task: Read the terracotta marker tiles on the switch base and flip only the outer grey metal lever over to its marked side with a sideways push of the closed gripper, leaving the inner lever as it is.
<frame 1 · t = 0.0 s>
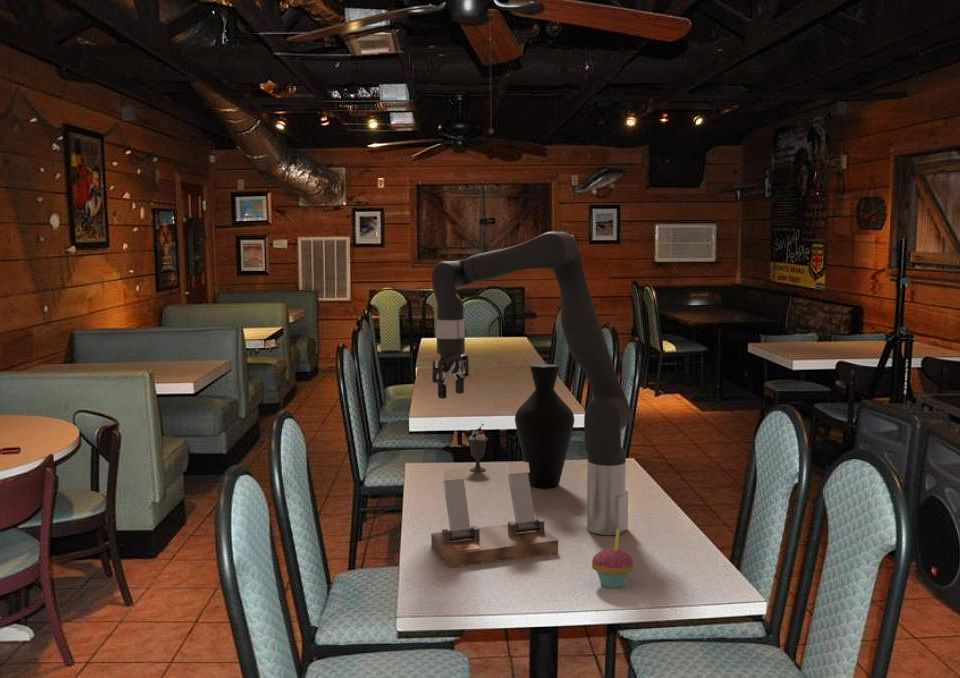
hand: (451, 395, 224), 29 cm above the table, tool pointing down, fingers open, 8 cm apart
inner lever: (521, 497, 196), point 11 cm above the table, hinge at 25.0°
outer lever: (456, 504, 190), point 11 cm above the table, hinge at 25.0°
switch base: (494, 549, 191), on the table
vase: (544, 485, 242), on the table
cupcake: (612, 585, 172), on the table
sundae: (478, 470, 258), on the table
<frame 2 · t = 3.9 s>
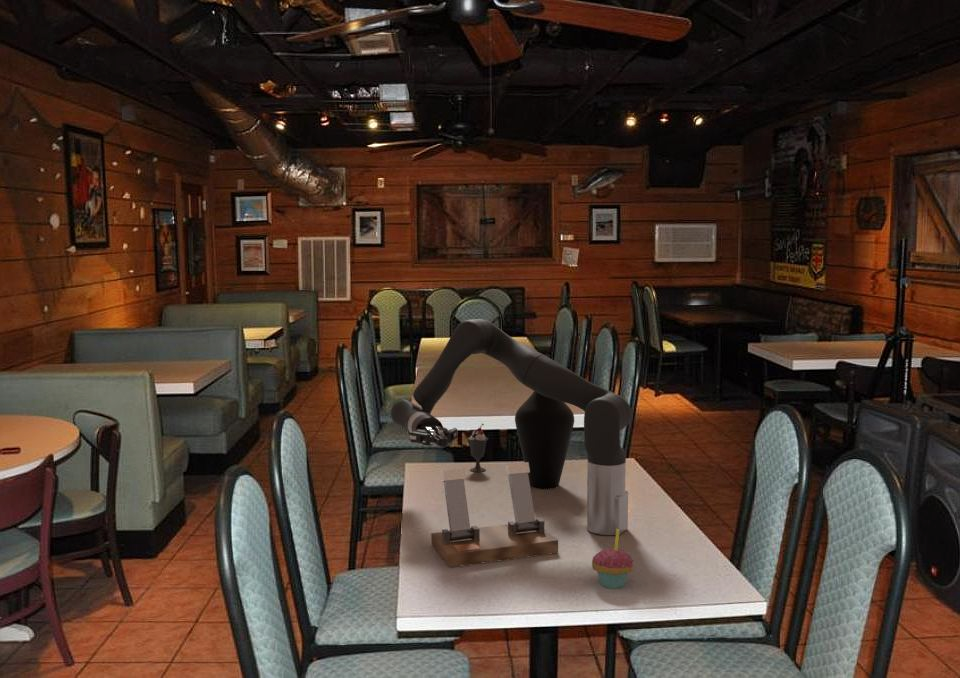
hand: (443, 442, 201), 22 cm above the table, tool horizontal, fingers closed
nothing on the table moved.
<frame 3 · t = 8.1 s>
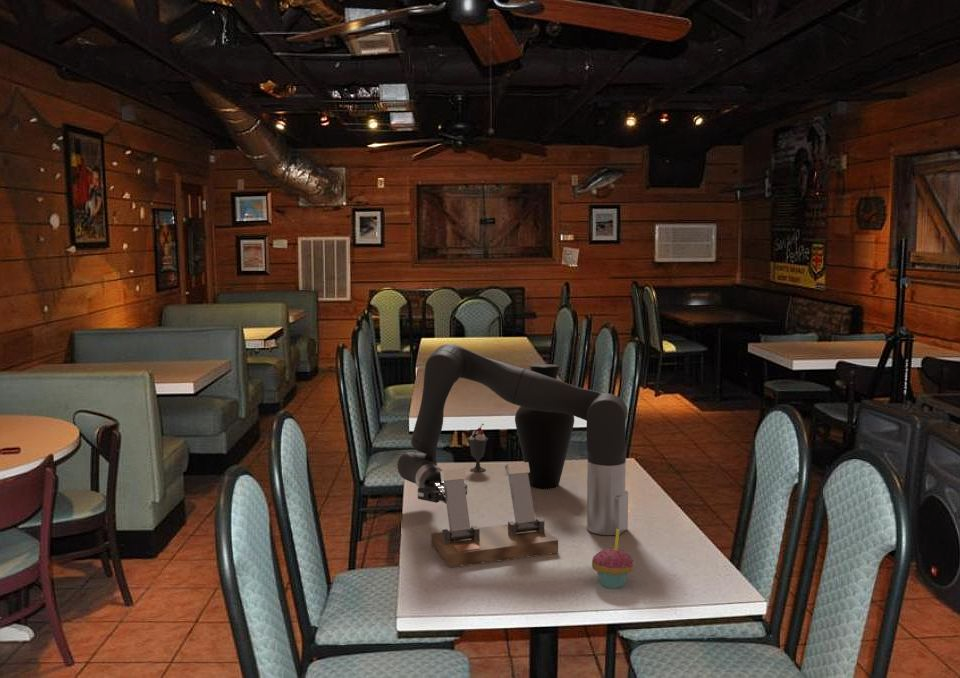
hand: (452, 501, 191), 11 cm above the table, tool horizontal, fingers closed
outer lever: (456, 504, 190), point 11 cm above the table, hinge at 24.8°, touching gripper
everything else where it was.
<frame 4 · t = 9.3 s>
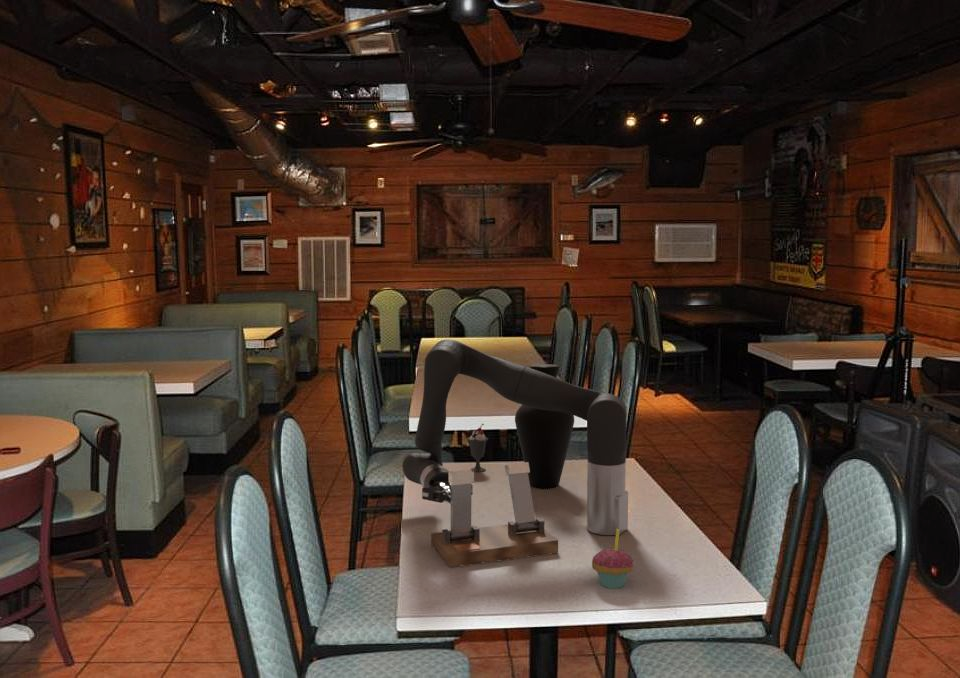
hand: (457, 501, 188), 12 cm above the table, tool horizontal, fingers closed
outer lever: (461, 506, 187), point 11 cm above the table, hinge at -2.9°, touching gripper
everything else where it was.
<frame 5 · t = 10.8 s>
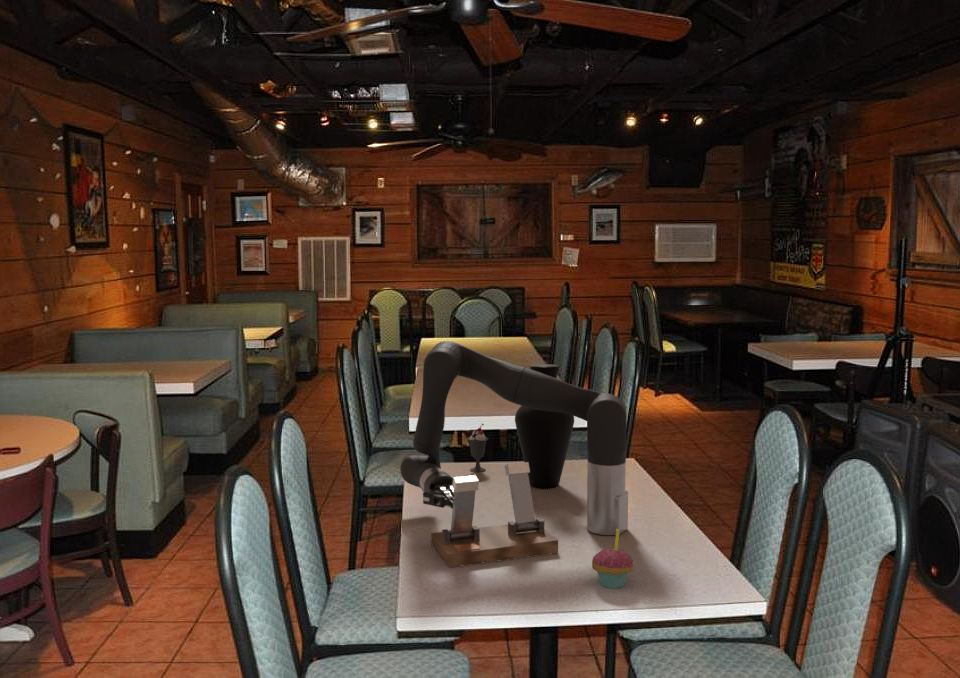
hand: (459, 506, 187), 11 cm above the table, tool horizontal, fingers closed
outer lever: (463, 509, 186), point 11 cm above the table, hinge at -16.5°
everything else where it was.
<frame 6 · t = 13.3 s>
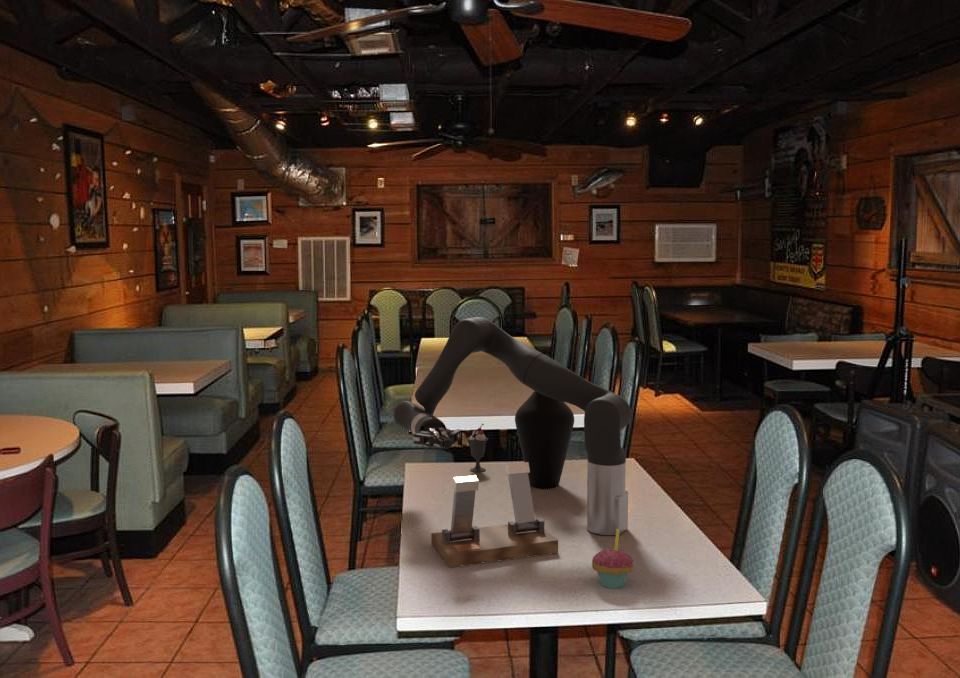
hand: (447, 444, 201), 22 cm above the table, tool horizontal, fingers closed
nothing on the table moved.
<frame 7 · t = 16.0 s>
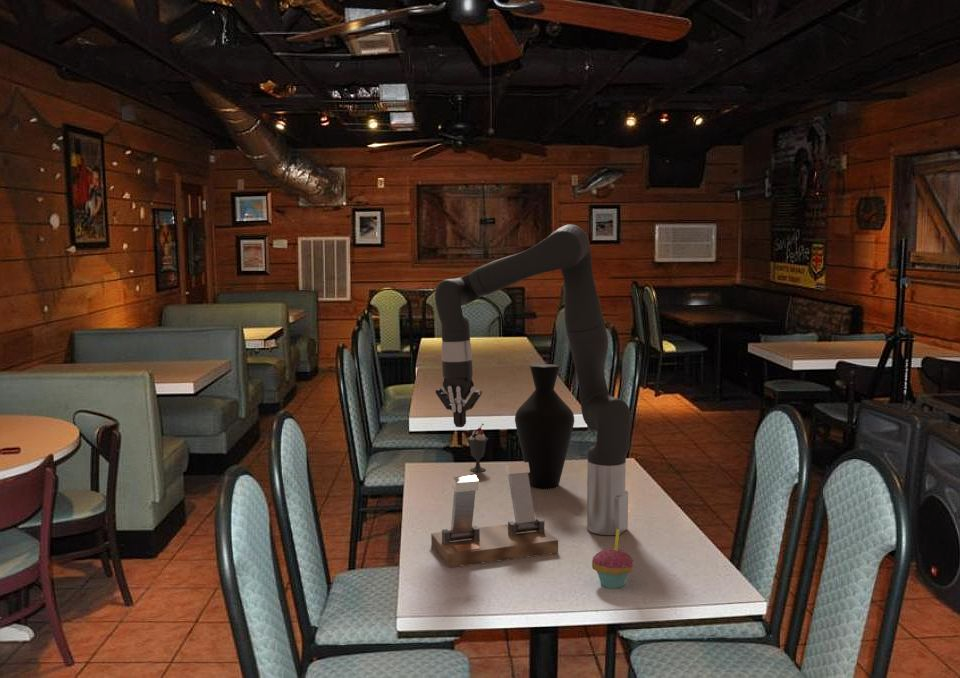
hand: (460, 426, 209), 24 cm above the table, tool pointing down, fingers closed
nothing on the table moved.
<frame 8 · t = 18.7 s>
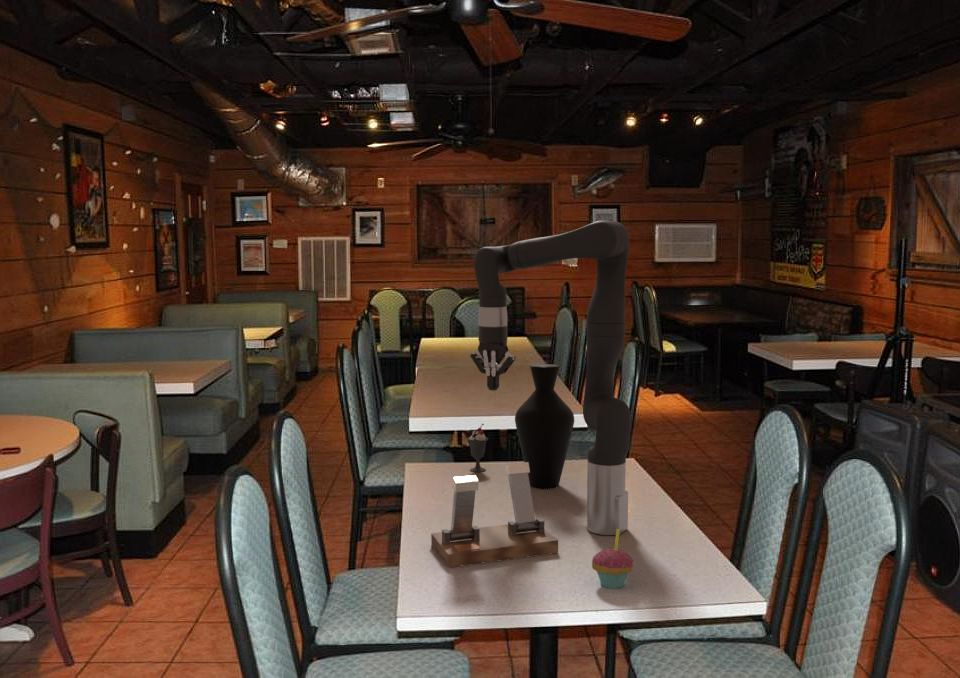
hand: (493, 389, 217), 32 cm above the table, tool pointing down, fingers closed
nothing on the table moved.
at the end: outer lever at -16° (first picture: +25°); inner lever at +25° (first picture: +25°) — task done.
